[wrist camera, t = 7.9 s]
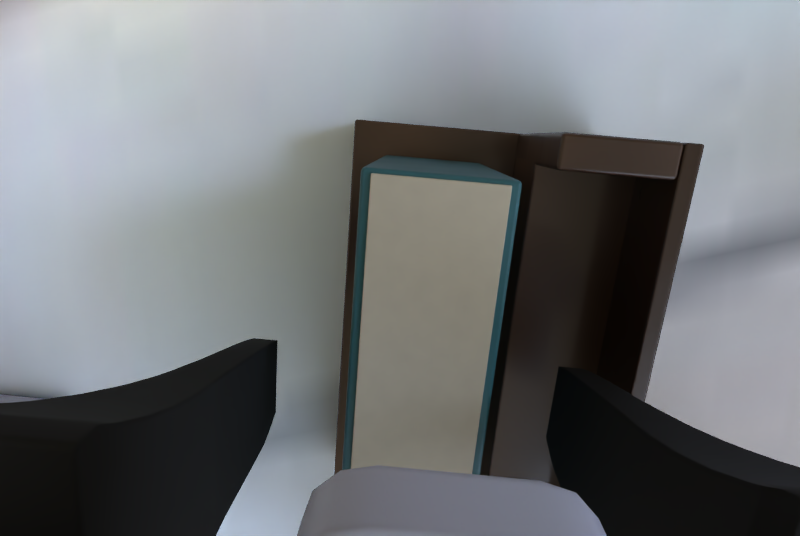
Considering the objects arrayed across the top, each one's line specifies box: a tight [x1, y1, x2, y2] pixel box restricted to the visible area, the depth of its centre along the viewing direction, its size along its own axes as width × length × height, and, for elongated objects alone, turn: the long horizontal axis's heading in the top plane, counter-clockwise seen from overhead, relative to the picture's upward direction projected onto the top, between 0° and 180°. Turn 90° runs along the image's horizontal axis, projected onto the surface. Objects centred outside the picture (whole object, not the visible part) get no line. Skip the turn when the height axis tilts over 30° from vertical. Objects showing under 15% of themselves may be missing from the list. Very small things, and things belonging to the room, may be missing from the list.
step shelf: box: [334, 120, 704, 487], centre depth 15 cm, size 8×13×6 cm, turn 175°
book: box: [342, 155, 522, 475], centre depth 14 cm, size 3×11×7 cm, turn 175°
